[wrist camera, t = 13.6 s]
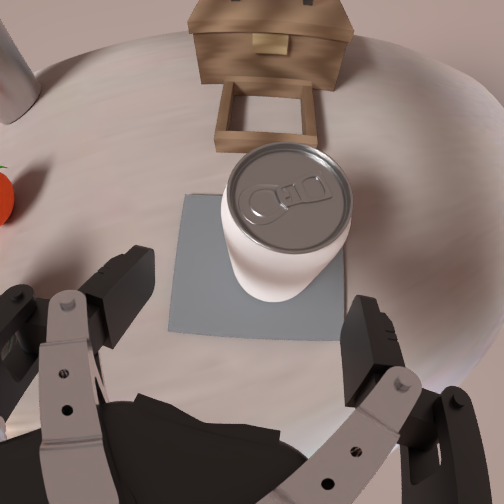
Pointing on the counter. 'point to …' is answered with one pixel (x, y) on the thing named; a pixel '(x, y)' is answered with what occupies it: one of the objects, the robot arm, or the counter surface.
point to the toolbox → (269, 58)
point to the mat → (235, 297)
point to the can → (284, 218)
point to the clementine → (5, 198)
